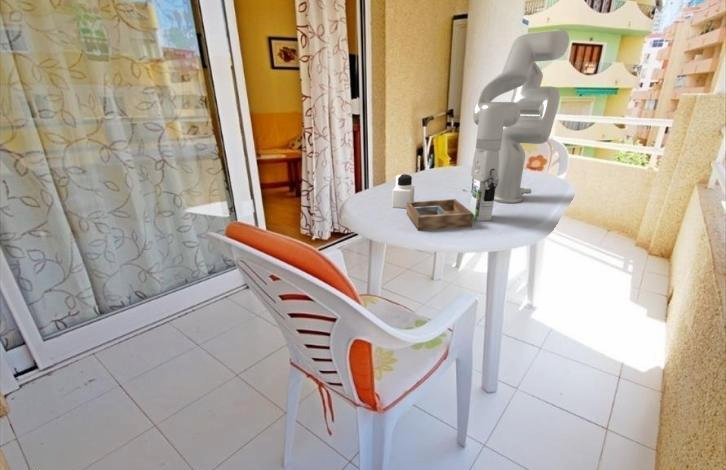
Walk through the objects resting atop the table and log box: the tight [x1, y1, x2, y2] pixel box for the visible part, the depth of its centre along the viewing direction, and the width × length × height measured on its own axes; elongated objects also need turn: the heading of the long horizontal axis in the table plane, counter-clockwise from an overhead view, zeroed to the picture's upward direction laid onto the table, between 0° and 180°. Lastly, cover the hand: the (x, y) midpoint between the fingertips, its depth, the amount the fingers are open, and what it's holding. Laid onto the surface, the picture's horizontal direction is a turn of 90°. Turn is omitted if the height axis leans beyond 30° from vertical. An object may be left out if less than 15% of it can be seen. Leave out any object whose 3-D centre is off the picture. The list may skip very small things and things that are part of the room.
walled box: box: [406, 198, 474, 232], centre depth 116 cm, size 18×16×4 cm
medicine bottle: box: [391, 173, 415, 209], centre depth 130 cm, size 7×7×12 cm
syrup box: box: [469, 179, 495, 222], centre depth 114 cm, size 6×6×14 cm
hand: (481, 197), depth 113 cm, fingers open, 9 cm apart
